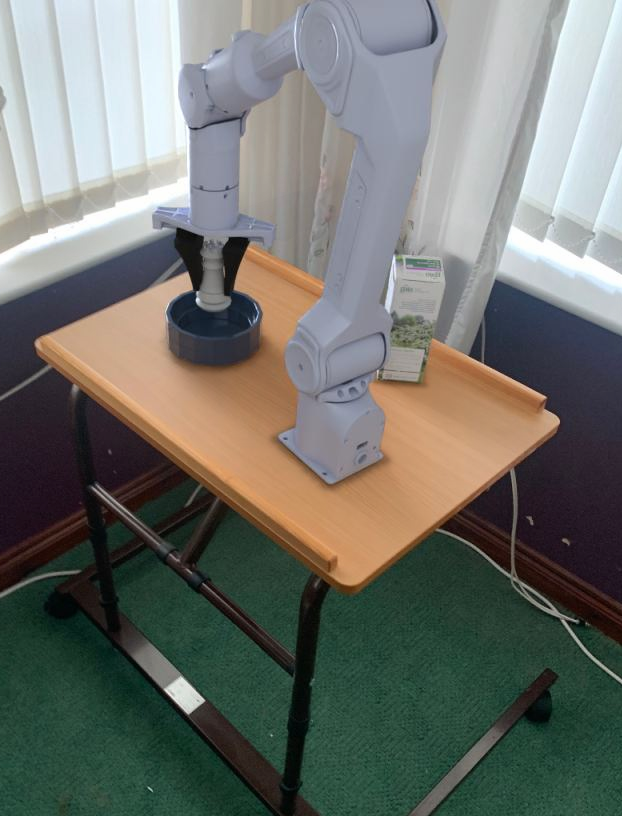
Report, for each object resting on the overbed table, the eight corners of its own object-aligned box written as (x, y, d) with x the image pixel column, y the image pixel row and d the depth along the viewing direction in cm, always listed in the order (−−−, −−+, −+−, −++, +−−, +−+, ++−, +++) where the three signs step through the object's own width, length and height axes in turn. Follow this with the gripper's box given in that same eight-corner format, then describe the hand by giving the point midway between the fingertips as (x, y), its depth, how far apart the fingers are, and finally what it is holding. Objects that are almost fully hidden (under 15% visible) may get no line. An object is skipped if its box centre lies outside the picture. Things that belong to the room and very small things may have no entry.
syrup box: (419, 358, 102) (442, 253, 92) (422, 385, 98) (447, 280, 88) (375, 354, 103) (393, 250, 92) (376, 382, 99) (395, 276, 88)
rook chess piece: (213, 290, 102) (213, 231, 96) (238, 304, 100) (240, 244, 94) (188, 303, 100) (186, 243, 94) (213, 317, 98) (213, 257, 92)
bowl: (279, 349, 103) (281, 319, 100) (200, 381, 98) (200, 350, 95) (225, 307, 110) (226, 278, 107) (149, 334, 105) (147, 304, 101)
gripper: (285, 175, 90) (278, 283, 100) (164, 158, 92) (168, 265, 102) (270, 201, 85) (264, 312, 95) (142, 182, 88) (150, 292, 97)
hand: (213, 289), depth 98 cm, fingers closed on rook chess piece, 3 cm apart
